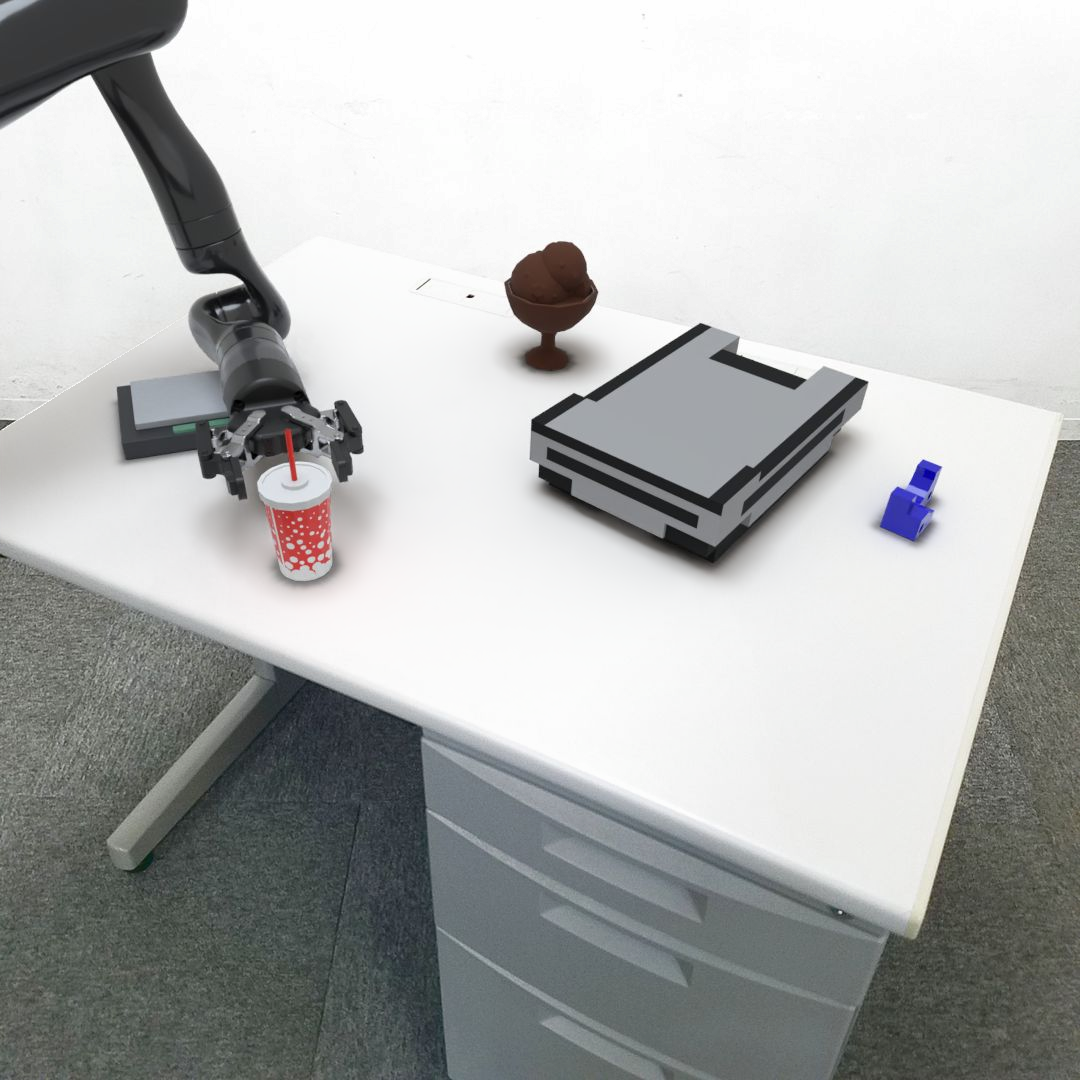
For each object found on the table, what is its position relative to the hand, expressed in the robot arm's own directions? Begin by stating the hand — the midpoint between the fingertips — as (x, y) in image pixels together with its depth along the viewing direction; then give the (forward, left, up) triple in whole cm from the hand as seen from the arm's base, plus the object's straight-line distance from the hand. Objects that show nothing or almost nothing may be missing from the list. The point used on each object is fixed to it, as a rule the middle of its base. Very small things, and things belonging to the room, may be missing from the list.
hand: (293, 482), depth 82 cm
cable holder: (+58, -12, -8) cm, 60 cm away
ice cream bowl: (+35, +29, -8) cm, 46 cm away
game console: (+42, +3, -8) cm, 43 cm away
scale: (-6, +27, -8) cm, 28 cm away
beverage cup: (0, -1, -8) cm, 8 cm away
